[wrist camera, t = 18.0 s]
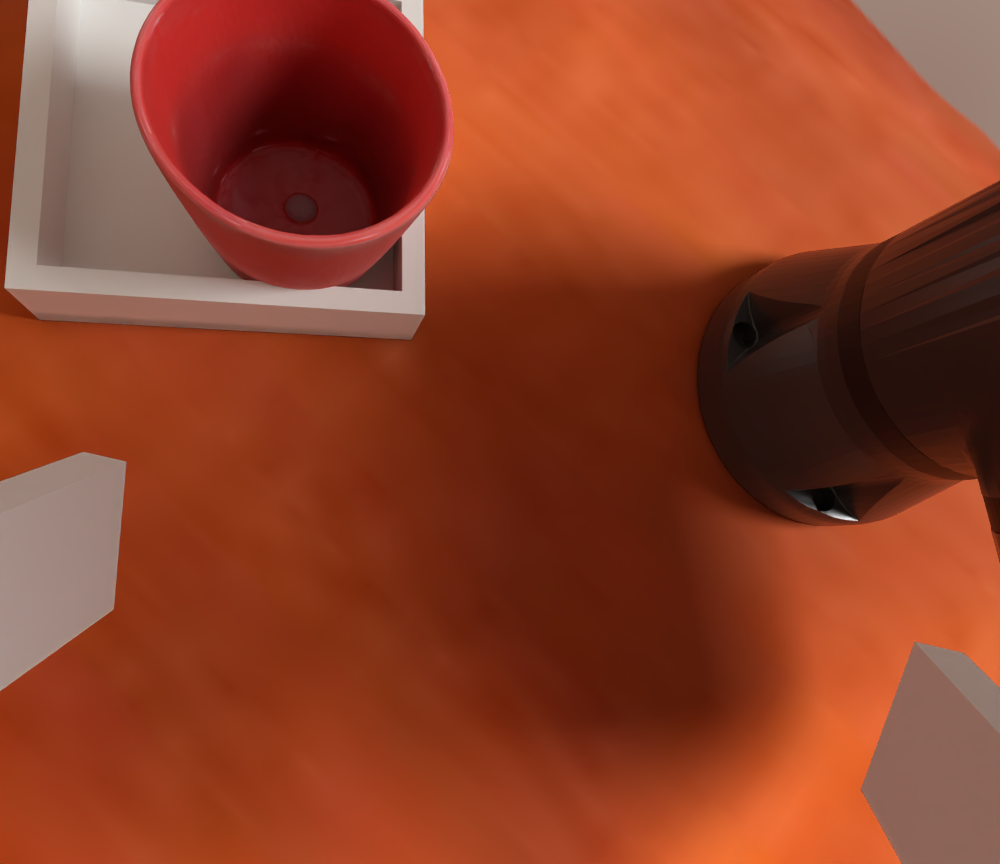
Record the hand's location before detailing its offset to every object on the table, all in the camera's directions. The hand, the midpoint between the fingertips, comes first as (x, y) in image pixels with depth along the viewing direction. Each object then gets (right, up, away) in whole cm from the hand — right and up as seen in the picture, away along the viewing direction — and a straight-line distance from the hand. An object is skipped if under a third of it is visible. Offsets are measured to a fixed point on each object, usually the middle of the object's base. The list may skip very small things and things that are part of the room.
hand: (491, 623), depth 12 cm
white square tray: (-12, +16, +23) cm, 30 cm away
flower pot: (-9, +13, +22) cm, 27 cm away
